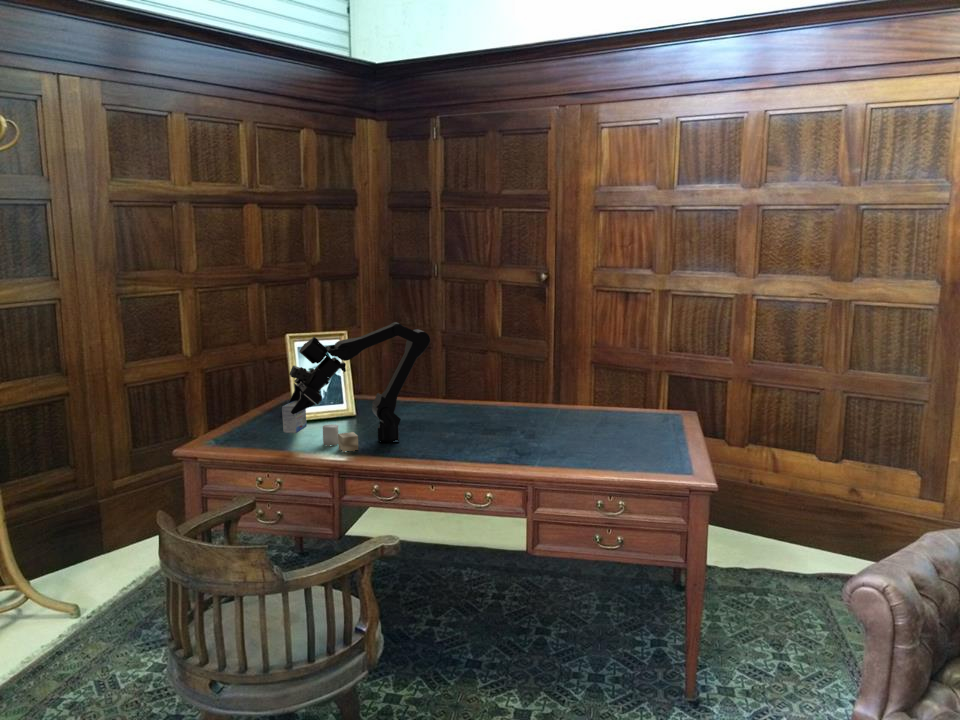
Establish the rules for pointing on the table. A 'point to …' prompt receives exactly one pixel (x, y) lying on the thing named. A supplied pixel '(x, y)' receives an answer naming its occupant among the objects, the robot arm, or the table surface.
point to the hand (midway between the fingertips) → (289, 410)
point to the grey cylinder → (330, 434)
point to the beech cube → (348, 441)
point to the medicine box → (293, 418)
